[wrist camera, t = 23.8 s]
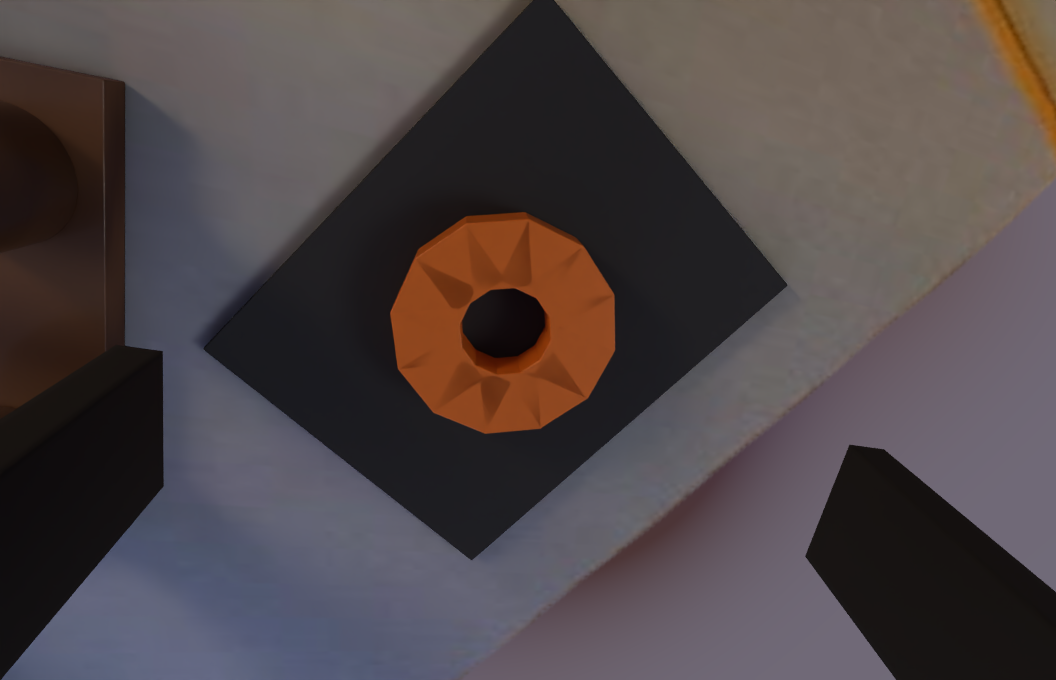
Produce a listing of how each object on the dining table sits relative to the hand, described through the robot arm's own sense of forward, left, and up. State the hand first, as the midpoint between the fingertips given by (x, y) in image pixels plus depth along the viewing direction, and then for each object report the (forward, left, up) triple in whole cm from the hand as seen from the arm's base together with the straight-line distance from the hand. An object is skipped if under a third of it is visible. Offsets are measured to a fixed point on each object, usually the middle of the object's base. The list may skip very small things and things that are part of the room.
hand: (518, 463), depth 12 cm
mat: (+1, +2, -16) cm, 16 cm away
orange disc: (+1, +2, -16) cm, 16 cm away
